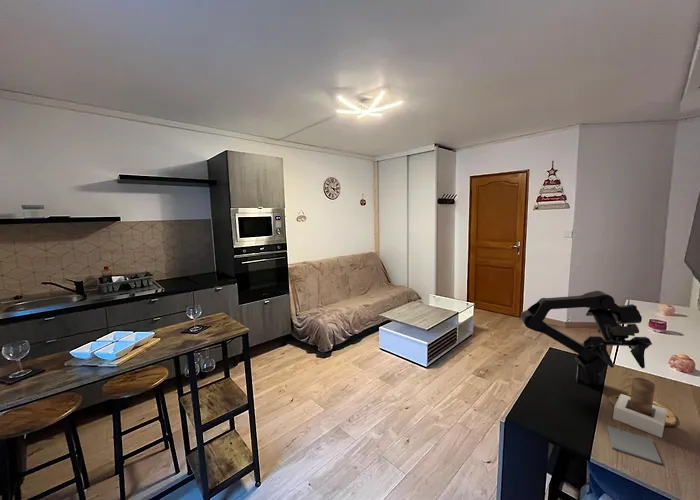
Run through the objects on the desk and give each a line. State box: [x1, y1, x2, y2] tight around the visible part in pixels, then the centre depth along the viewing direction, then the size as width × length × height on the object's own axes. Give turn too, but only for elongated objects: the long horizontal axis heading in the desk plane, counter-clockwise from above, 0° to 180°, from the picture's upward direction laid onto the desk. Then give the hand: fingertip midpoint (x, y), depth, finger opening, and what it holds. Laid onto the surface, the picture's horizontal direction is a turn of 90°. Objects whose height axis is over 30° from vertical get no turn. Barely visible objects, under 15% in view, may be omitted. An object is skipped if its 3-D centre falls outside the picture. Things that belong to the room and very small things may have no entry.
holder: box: [612, 393, 668, 439], centre depth 96 cm, size 11×11×4 cm
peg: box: [629, 377, 656, 417], centre depth 95 cm, size 5×5×13 cm
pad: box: [606, 425, 663, 466], centre depth 86 cm, size 10×10×1 cm
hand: (628, 367), depth 102 cm, fingers open, 9 cm apart
